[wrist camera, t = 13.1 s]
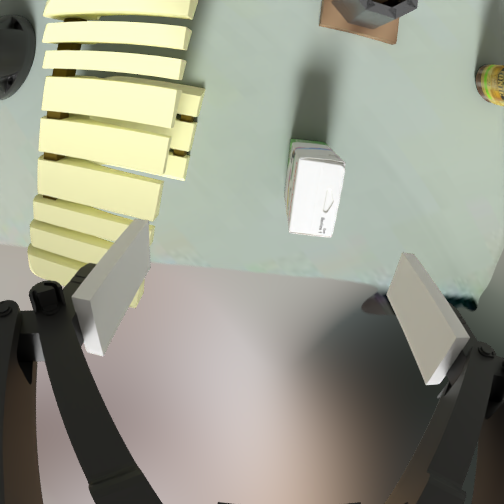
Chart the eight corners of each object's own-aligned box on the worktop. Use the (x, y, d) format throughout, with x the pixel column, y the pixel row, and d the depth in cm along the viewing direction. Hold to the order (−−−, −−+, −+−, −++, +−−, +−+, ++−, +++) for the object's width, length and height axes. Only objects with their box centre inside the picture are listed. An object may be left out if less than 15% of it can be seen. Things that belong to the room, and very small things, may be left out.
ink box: (289, 137, 40) (298, 155, 30) (326, 142, 40) (347, 162, 30) (282, 198, 44) (287, 235, 34) (317, 201, 45) (333, 239, 34)
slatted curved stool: (111, 18, 32) (33, -3, 17) (221, 29, 34) (191, -8, 18) (83, 210, 46) (18, 269, 31) (175, 234, 48) (135, 308, 32)
